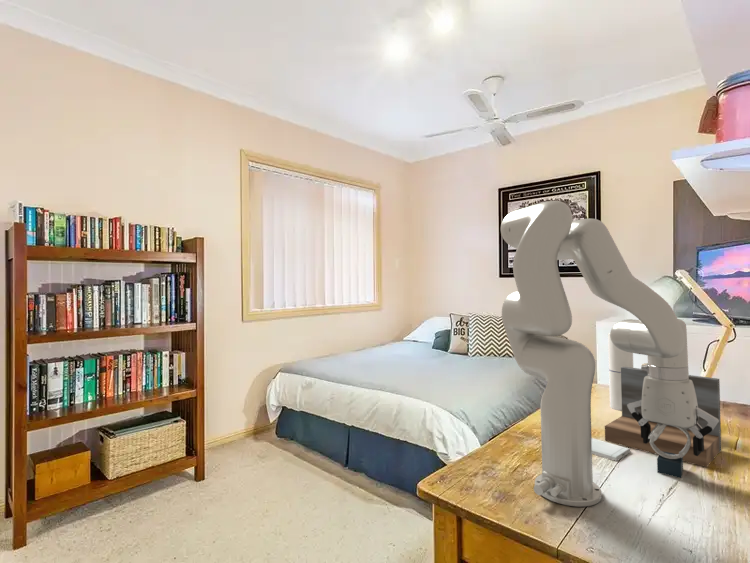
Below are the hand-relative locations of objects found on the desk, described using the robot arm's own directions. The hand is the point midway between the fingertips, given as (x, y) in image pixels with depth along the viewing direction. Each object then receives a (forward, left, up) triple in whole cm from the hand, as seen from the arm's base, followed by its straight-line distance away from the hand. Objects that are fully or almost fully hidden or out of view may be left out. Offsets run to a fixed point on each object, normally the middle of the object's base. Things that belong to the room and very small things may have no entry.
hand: (671, 447), depth 95 cm
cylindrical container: (+41, +25, -5) cm, 49 cm away
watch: (-1, 0, -5) cm, 5 cm away
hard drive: (0, +16, -6) cm, 17 cm away
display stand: (+14, +6, -5) cm, 17 cm away
